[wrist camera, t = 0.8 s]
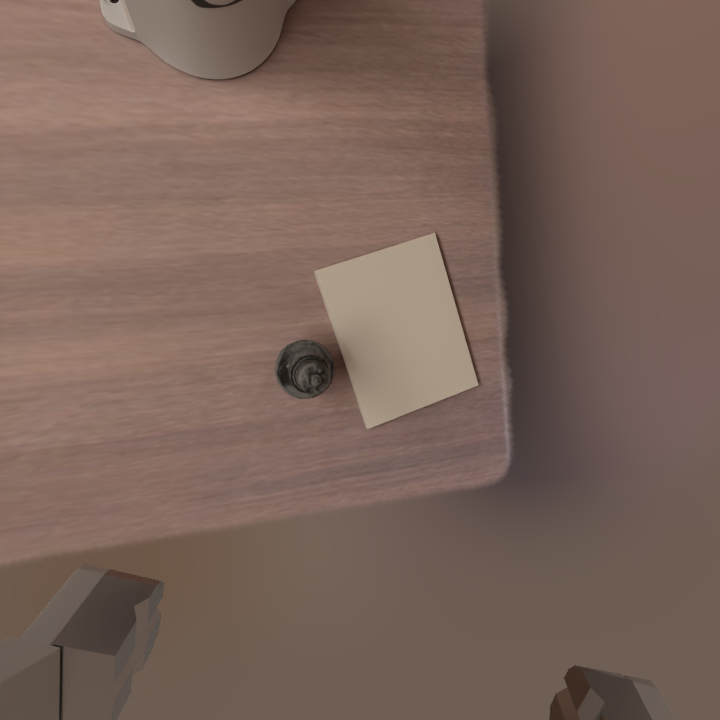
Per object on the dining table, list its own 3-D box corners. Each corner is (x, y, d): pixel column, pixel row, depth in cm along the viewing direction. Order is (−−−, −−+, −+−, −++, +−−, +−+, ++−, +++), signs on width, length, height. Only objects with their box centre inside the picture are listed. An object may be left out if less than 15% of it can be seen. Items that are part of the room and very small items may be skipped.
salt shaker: (339, 363, 50) (367, 378, 39) (303, 404, 50) (319, 431, 38) (299, 326, 49) (315, 330, 37) (261, 368, 48) (265, 384, 37)
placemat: (313, 271, 49) (314, 271, 48) (432, 233, 51) (434, 232, 51) (366, 427, 52) (367, 429, 51) (476, 384, 54) (478, 385, 54)
